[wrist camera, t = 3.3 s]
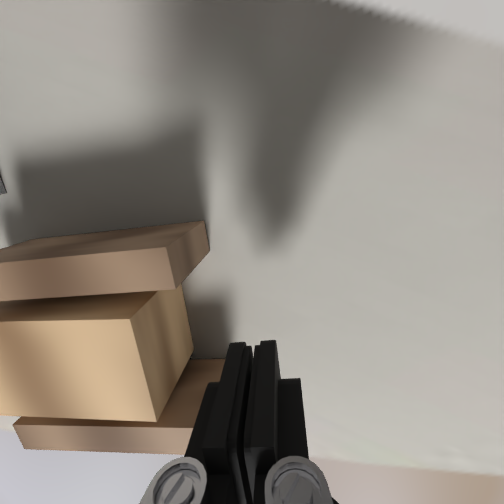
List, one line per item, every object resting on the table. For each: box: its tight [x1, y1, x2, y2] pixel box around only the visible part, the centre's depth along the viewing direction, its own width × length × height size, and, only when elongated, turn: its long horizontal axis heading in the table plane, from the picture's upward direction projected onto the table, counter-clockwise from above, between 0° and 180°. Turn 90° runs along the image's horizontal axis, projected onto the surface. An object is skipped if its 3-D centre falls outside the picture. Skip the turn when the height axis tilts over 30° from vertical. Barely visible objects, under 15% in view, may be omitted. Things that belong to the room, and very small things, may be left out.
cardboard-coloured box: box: [0, 284, 194, 422], centre depth 14 cm, size 10×5×5 cm, turn 96°
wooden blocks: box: [0, 221, 225, 455], centre depth 14 cm, size 10×10×4 cm
